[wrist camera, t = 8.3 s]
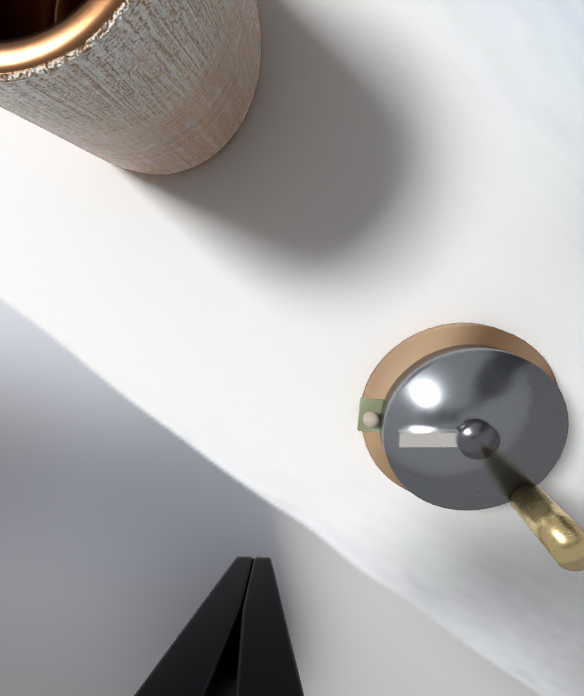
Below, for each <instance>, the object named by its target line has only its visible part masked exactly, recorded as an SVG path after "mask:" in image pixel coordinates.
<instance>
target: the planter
mask: <svg viewBox="0 0 584 696" xmlns="http://www.w3.org/2000/svg"><path fill="white" fill-rule="evenodd" d="M260 60H261V31H260V20H259V13H258V7H257V2H256V0H0V107H2V108H4V109H6V110H8V111H10V112H12V113H14V114H16V115H18V116H20V117H22V118H24V119H26V120H27V121H29V122H31V123H33V124H35V125H37V126H39V127H41V128H43V129H45V130H47V131H49V132H51V133H53V134H55V135H57V136H58V137H60V138H62V139H64V140H66V141H68V142H70V143H72V144H74V145H76V146H78V147H80V148H81V149H83V150H85V151H87V152H89V153H91V154H93V155H95V156H97V157H99V158H101V159H103V160H105V161H107V162H109V163H111V164H114V165H116V166H118V167H121V168H124V169H127V170H131V171H135V172H140V173H146V174H172V173H177V172H181V171H185V170H188V169H191V168H193V167H196V166H198V165H200V164H202V163H203V162H205V161H206V160H208V159H210V158H211V157H212V156H214V155H215V154H216V153H217V152H219V151H220V150H221V149H222V148H223V147H224V146H225V145H226V144H227V143H228V142H229V141H230V139H231V138H232V137H233V136H234V134H235V133H236V131H237V130H238V129H239V127H240V125H241V124H242V122H243V120H244V118H245V116H246V114H247V112H248V110H249V108H250V105H251V103H252V100H253V97H254V94H255V90H256V86H257V82H258V77H259V70H260Z"/></svg>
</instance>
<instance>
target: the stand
mask: <svg viewBox="0 0 584 696" xmlns="http://www.w3.org/2000/svg"><path fill="white" fill-rule="evenodd" d="M466 344H480V345H487V346H493V347H497V348H500V349H503V350H506V351H508V352H510V353H512V354H514V355H516V356H519V357H521V358H523V359H525V360H527V361H529V362H531V363H533V364H535V365H536V366H538V367H539V368H541V369H542V370H543V371H544V372H545V373H546V374H548V375H549V376H550V377H551V379H552V380H553V381H554V382H555V384H556V385H557V382H556V379H555V377H554V374H553V372H552V370H551V368H550V367H549V365H548V364H547V362H546V361H545V359H544V358H543V357H542V356H541V355H540V354H539V352H538V351H537V350H536V349H535V348H533V347H532V346H531V345H529V344H528V343H527V342H526V341H524V340H522V339H520V338H519V337H517V336H515V335H513V334H510V333H508V332H505V331H503V330H500V329H497V328H494V327H491V326H486V325H482V324H474V323H453V324H446V325H440V326H436V327H433V328H429V329H426V330H424V331H422V332H419V333H417V334H415V335H413V336H411V337H409V338H407V339H406V340H404V341H403V342H401V343H400V344H399V345H397V346H396V347H394V348H393V349H392V350H391V351H390V352H389V353H388V354H387V355H386V356H385V357H384V358H383V359H382V360H381V361H380V363H379V364H378V365H377V366H376V368H375V370H374V371H373V373H372V374H371V376H370V378H369V380H368V382H367V384H366V386H365V390H364V393H363V396H362V398H360V406H359V417H358V428H357V429H358V431H362V433H363V436H364V440H365V443H366V447H367V449H368V451H369V453H370V456H371V457H372V459H373V460H374V462H375V464H376V465H377V466H378V468H379V469H380V470H381V471H382V472H383V473H384V474H385V475H386V476H387V477H388V478H389V479H390V480H391V481H393V482H394V483H396V484H397V485H399V486H400V487H402V488H404V489H406V488H405V486H404V485H403V484H402V483H401V482H400V481H399V480H398V478H397V477H396V476H395V474H394V473H393V471H392V469H391V467H390V465H389V462H388V460H387V457H386V454H385V452H384V449H383V446H382V443H381V438H380V433H379V420H380V413H381V409H382V405H383V402H384V400H385V397H386V395H387V393H388V391H389V390H390V388H391V386H392V385H393V383H394V382H395V381H396V380H397V378H398V377H399V376H400V375H401V374H402V373H403V372H404V371H405V370H406V369H407V368H408V367H410V366H411V365H412V364H413V363H415V362H416V361H418V360H419V359H421V358H423V357H424V356H426V355H428V354H431V353H433V352H435V351H438V350H441V349H444V348H447V347H452V346H456V345H466ZM406 490H408V489H406ZM408 491H409V490H408Z"/></svg>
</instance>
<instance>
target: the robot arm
mask: <svg viewBox="0 0 584 696" xmlns="http://www.w3.org/2000/svg"><path fill="white" fill-rule="evenodd" d="M134 696H304V693H303V689H302V685H301V681H300V677H299V672H298V668H297V664H296V660H295V655H294V651H293V647H292V643H291V639H290V635H289V630H288V626H287V622H286V618H285V614H284V609H283V605H282V601H281V597H280V593H279V589H278V584H277V580H276V576H275V572H274V568H273V563H272V559H271V557H269V556H256V557H255V558H254V557H253V556H241V555H240V556H237V557H236V559H235V560H234V561H233V563H232V564H231V565H230V567H229V568H228V569H227V571H226V572H225V573H224V575H223V576H222V577H221V579H220V580H219V581H218V583H217V584H216V585H215V587H214V588H213V590H212V591H211V592H210V594H209V595H208V596H207V598H206V599H205V600H204V602H203V603H202V604H201V606H200V607H199V609H198V610H197V611H196V613H195V614H194V615H193V617H192V618H191V619H190V621H189V622H188V623H187V625H186V626H185V627H184V629H183V630H182V632H181V633H180V634H179V636H178V637H177V638H176V640H175V641H174V642H173V644H172V645H171V646H170V648H169V649H168V651H167V652H166V653H165V655H164V656H163V657H162V659H161V660H160V661H159V663H158V664H157V665H156V667H155V668H154V670H153V671H152V672H151V674H150V675H149V677H148V678H147V679H146V680H145V682H144V683H143V684H142V686H141V687H140V689H139V690H138V691H137V693H136V694H135V695H134Z"/></svg>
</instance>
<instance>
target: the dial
mask: <svg viewBox="0 0 584 696" xmlns="http://www.w3.org/2000/svg"><path fill="white" fill-rule="evenodd" d="M379 433H380V438H381V443H382V446H383V449H384V452H385V454H386V457H387V460H388V462H389V465H390V467H391V469H392V471H393V473H394V474H395V476H396V477H397V478H398V480H399V481H400V482H401V483H402V484H403V485H404V486H405V488H406V489H408V490H409V491H410V492H411V493H413V494H414V495H415V496H417V497H419V498H420V499H422V500H424V501H426V502H428V503H431V504H433V505H436V506H440V507H443V508H448V509H454V510H480V509H486V508H491V507H495V506H499V505H502V504H505V503H507V502H510V501H511V505H512V507H513V508H514V509H515V511H516V512H517V513H518V514H519V516H520V517H521V518H522V519H523V521H524V522H525V523H526V524H527V526H528V527H529V528H530V529H531V530H532V532H533V533H534V534H535V535H536V537H537V538H538V539H539V540H540V542H541V543H542V544H543V545H544V546H545V548H546V549H547V550H548V551H549V553H550V554H551V555H552V556H553V558H554V559H555V560H556V561H557V563H558V564H559V565H560V566H561V567H562V568H564V569H566V570H570V571H581V570H584V531H583V530H582V529H581V528H580V527H579V526H578V525H577V524H576V523H575V522H574V521H573V520H572V519H571V518H570V517H569V516H568V515H567V514H566V513H565V512H564V511H563V510H562V509H561V508H560V507H559V506H558V505H557V504H556V503H555V502H554V501H553V500H552V499H551V498H550V497H549V496H548V495H547V494H546V493H545V492H544V491H543V490H542V489H541V488H540V487H538V486H536V485H537V484H539V483H540V482H541V481H542V480H543V479H544V478H545V477H546V476H547V475H548V473H549V472H550V471H551V470H552V468H553V467H554V466H555V464H556V462H557V461H558V459H559V457H560V455H561V453H562V451H563V448H564V446H565V442H566V438H567V433H568V413H567V408H566V403H565V401H564V398H563V396H562V393H561V392H560V390H559V388H558V386H557V385H556V384H555V382H554V381H553V380H552V379H551V377H550V376H549V375H548V374H546V373H545V372H544V371H543V370H542V369H541V368H539V367H538V366H536V365H535V364H533V363H531V362H529V361H527V360H525V359H523V358H521V357H519V356H516V355H514V354H512V353H510V352H508V351H506V350H503V349H500V348H497V347H493V346H487V345H480V344H466V345H456V346H452V347H447V348H444V349H441V350H438V351H435V352H433V353H431V354H428V355H426V356H424V357H423V358H421V359H419V360H418V361H416V362H415V363H413V364H412V365H411V366H410V367H408V368H407V369H406V370H405V371H404V372H403V373H402V374H401V375H400V376H399V377H398V378H397V380H396V381H395V382H394V383H393V385H392V386H391V388H390V390H389V391H388V393H387V395H386V397H385V400H384V402H383V405H382V409H381V413H380V420H379Z"/></svg>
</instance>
